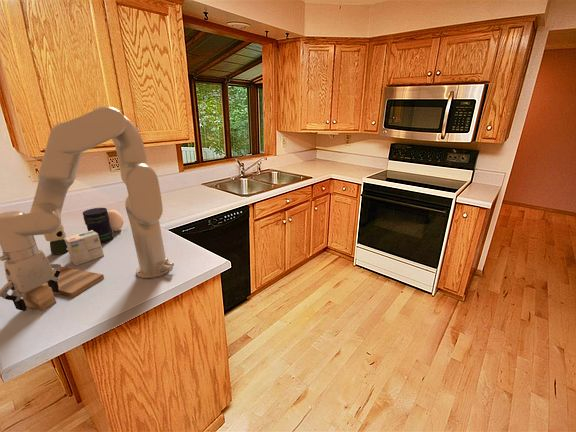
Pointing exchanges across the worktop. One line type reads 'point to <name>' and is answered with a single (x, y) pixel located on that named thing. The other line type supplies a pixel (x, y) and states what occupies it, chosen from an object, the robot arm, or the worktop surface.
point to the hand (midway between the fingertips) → (39, 300)
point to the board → (75, 281)
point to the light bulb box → (84, 247)
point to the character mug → (57, 241)
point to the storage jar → (99, 223)
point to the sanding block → (39, 298)
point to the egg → (115, 220)
